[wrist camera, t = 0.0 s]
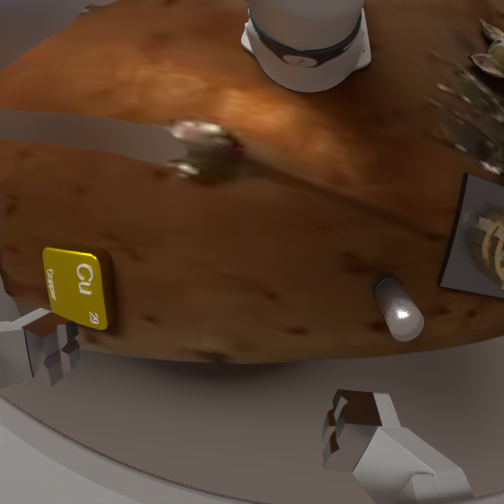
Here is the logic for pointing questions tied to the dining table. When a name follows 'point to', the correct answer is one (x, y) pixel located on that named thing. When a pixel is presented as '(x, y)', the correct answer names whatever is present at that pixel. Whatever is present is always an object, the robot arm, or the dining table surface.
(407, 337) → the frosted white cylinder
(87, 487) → the robot arm
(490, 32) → the ceramic sculpture
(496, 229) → the collar stand
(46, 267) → the element tile
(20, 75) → the dining table surface
